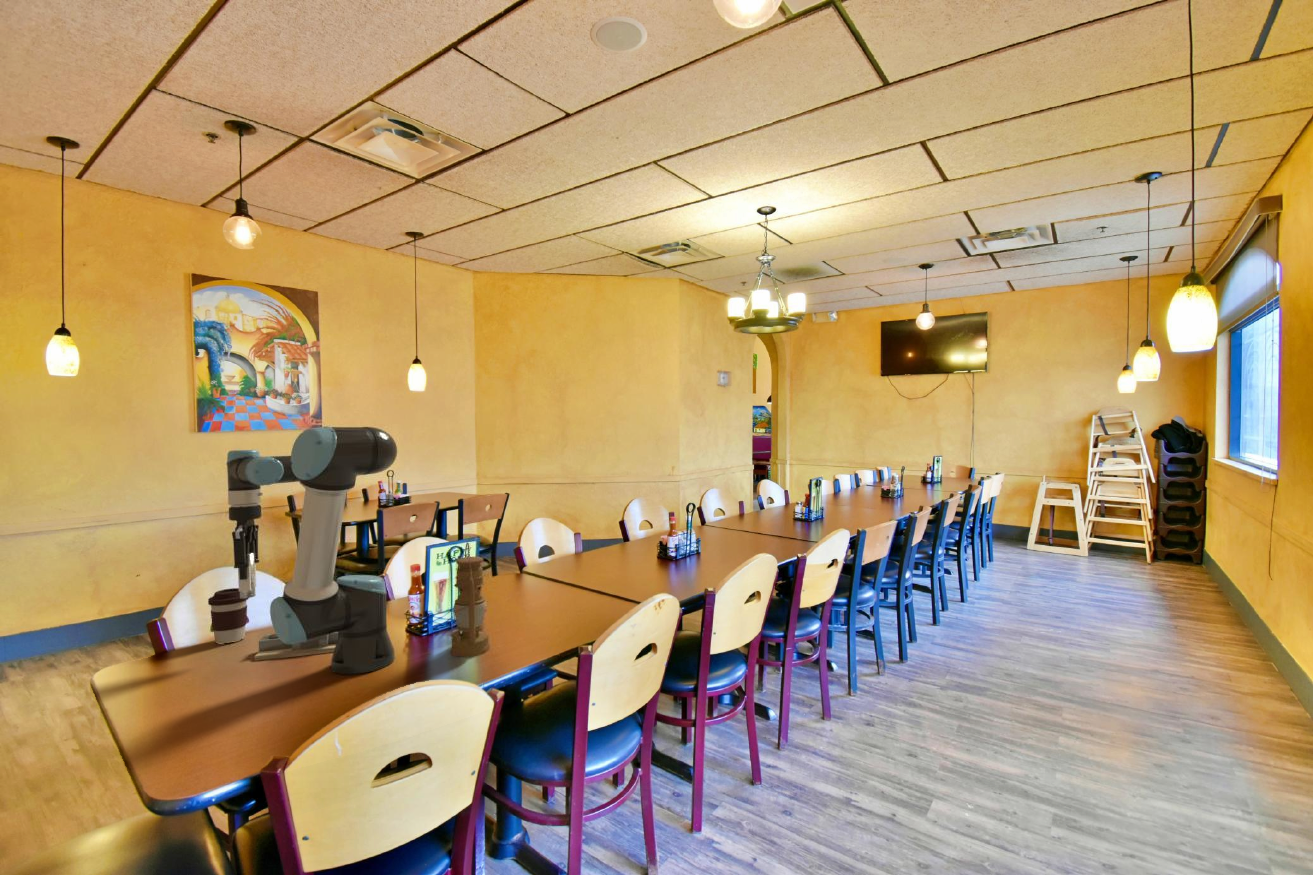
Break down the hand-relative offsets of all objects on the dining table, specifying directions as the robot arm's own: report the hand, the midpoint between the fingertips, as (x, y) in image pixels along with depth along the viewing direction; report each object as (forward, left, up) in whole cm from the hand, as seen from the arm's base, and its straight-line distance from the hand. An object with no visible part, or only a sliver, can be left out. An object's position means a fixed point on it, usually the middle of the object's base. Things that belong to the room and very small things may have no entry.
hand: (247, 588), depth 169 cm
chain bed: (0, -16, -18) cm, 24 cm away
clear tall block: (0, 0, -2) cm, 2 cm away
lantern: (-18, -59, -19) cm, 65 cm away
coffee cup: (+15, +10, -19) cm, 26 cm away
